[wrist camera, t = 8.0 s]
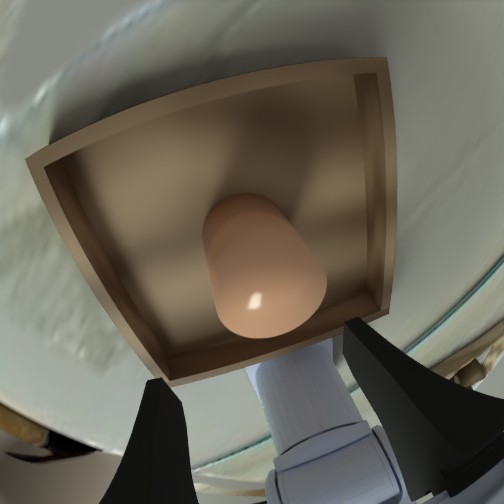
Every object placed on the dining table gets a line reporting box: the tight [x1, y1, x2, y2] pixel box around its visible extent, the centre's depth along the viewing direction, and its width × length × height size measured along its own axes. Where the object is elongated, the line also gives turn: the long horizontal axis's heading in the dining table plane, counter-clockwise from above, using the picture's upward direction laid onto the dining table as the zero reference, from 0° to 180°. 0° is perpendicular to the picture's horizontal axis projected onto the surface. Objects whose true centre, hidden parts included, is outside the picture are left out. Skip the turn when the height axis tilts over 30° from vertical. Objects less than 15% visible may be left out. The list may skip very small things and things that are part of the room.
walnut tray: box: [25, 57, 397, 387], centre depth 17 cm, size 18×18×3 cm
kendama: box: [450, 358, 486, 390], centre depth 40 cm, size 6×10×20 cm
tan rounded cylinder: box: [202, 193, 327, 338], centre depth 16 cm, size 5×5×6 cm
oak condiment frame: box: [430, 320, 504, 387], centre depth 42 cm, size 17×27×2 cm, turn 103°
